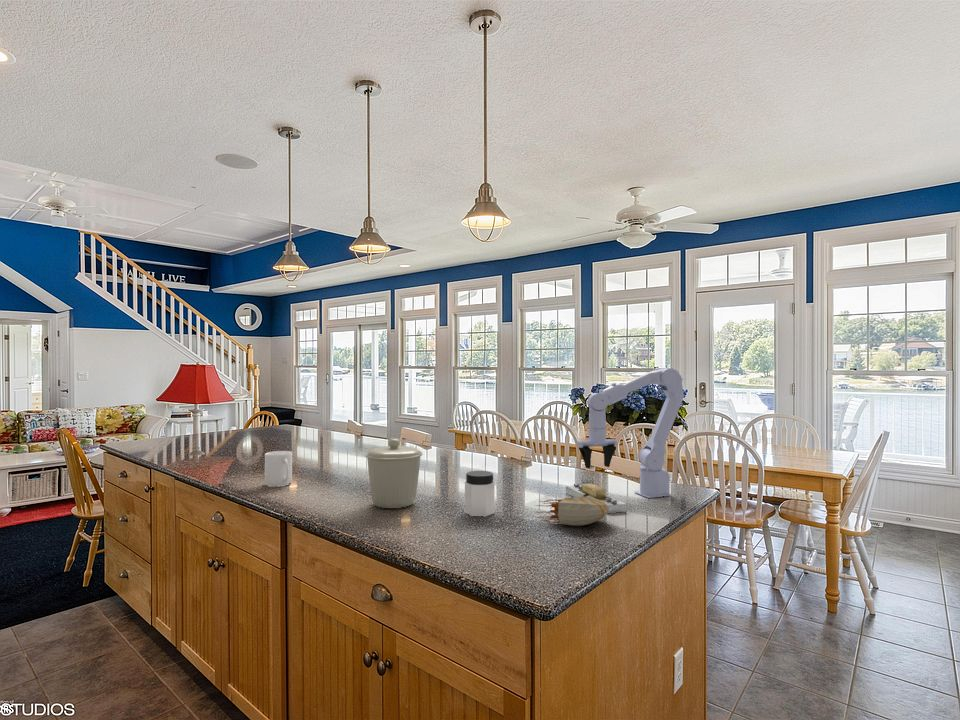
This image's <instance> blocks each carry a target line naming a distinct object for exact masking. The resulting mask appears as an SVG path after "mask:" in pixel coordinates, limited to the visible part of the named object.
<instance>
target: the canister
mask: <svg viewBox="0 0 960 720" xmlns="http://www.w3.org/2000/svg"><path fill="white" fill-rule="evenodd" d="M400 442H401V441H400V440H399V439H398V438H391V439H389V441H388V446H387V445H386V446H379V447H375V448H372V449H371V450H369V451H367V452H366V453H365V454H364V456H365V457H366V458H367V459H366V461H367V469H368V477H369V479H368V481H369V486H370V487H369V488H370V494H371V499H372V503H373V504H374V505H375V507H377V506H378V508H380V507H382V508H381V509H384V508H398V509H402V508H401V507H404V508H407V507H406V506H408V507H409V505H410V506H411V505H412V504H414V502H415V501H416V498H417V497H416V496H417V491H418V484H419V483H418V482H419V476H420V475H419V474H420V467H421V466H420V465H421V458H422V457H421V456H423V454H424V453H423V452H422V451H420V449H418V448H416V447H414V446H413V447H412V446H407V445H400Z"/></svg>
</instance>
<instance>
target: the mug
mask: <svg viewBox="0 0 960 720" xmlns="http://www.w3.org/2000/svg"><path fill="white" fill-rule="evenodd" d="M292 481H293V451H289V450H274V451H269V452H266V453H264V485H265V486H266V485H270V486H277V485H285V484H289V483H291V482H292ZM292 483H293V482H292ZM292 483H291V484H292Z"/></svg>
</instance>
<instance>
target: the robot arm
mask: <svg viewBox="0 0 960 720" xmlns="http://www.w3.org/2000/svg"><path fill="white" fill-rule="evenodd" d="M683 380H684V379H683V377H682V375H681V374H680V372H679V371H678V370H677V369H676V368H671V367H670V368H665V367H660V368H657V369H656V370H655V369H654V370H651V371H649V372H647V373H644V374H642V375H639V376H638V377H636V378H635V379H632V380H630V381H628V382H626V383H623V384H622V383H621V382H617V383H616V382H613V383H611V384H610V386H609V387H608V386H607V387H606V388H604V389H602V388H601V389H598V392H594V393H591V394H590V395H589V397H588V398H587V402H586V403H587V406H588V407H589V409H588V410H589V412H588V413H589V414H588V439H586V440H579V441H577V448H578V450H579V452H580V453H581V456H582V459H583V462H584V467H585V469H591V464H592V461H591V458H592V452H593V449H592V448H593V447H602V450H603V465H604V467H607V468H610V466H611V462H612V459H613V457H614V454H615V452H616V451H617V446H618V440H617V439H613V438H612V439H611V438H610V439H609V438H608V439H607V425H606V424H607V419H606V418H607V417H606V415H607V414H606V409H607V407H608V406H611V405H613V404H615V403H618V402H619V401H622V400H624V399H627V396H628V393H631V392H634V391H636V390H638V389H640V388H643V387H646V386H648V385H658V387H660V388H661V390H662V392H663V393H664V395H665V400H664V403H663V405H662V407H661V410H660V412H659V416H658V418H657V420H656V422H655V424H654V425H655V426H654V427H653V429H652V433H651V435H650V436H649V439H648V440H647V441H646V443H645V444H644V446H643V448H641V449H640V450H639V452H638V455H637V456H638V457H637V458H638V461H639V462H640V463H641V464H640V466H639V490H635V491H634V494H637V495H639V496H642V497H645V498H647V499H651V498H652V499H653V498H661V497H662V498H663V496H664V497H671V496H672V494H670V493H671V492H670V488H671V487H670V485H671V484H670V483H671V482H670V481H671V480H670V474H669V472H668V470H667V469H666V468H663V466H664V465H665V464H664V463H665V453H666V448H665V447H666V444H667V440H668V437H669V435H670V432H671V430H672V428H673V425H674V423H675V420H676V418H677V415H678V413H679V410H680V407H681V405H682V403H683V400H684V397H685V396H684V389H683Z"/></svg>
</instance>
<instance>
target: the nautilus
mask: <svg viewBox="0 0 960 720" xmlns="http://www.w3.org/2000/svg"><path fill="white" fill-rule="evenodd" d="M539 502H540V503H542V505H536V507H549V509H550V510H549V511H545V513H546V514H549V515H550V516H549V515H548V516H545V517H544V519H542V520H541V519H540V520H539V522H542V521H545V522H549V523H548V525H550V524H551V523H552V521H553V524H559V525H566V526H567V525H568V526H569V527H570V526H571V527H583V526H588V525H591V524H593V523H595V522H598V521H601V520H602V519H603V518H605V517H606V515H608V514H607V512H608V511H609V508H608V506H607V505H606V503H605V502H603V501H601V500H598V499H595V498H592V497H585V496H581V497H572V496H569V497H565V498H559V499H552V498H551V499H549V498H547V499H546V500H544V501H541V500H539ZM552 508H554V509H552ZM536 513H537V514H538V513H539V514H540V513H541V514H542V513H544V511H536ZM532 518H534V516H532ZM538 518H542V516H538Z"/></svg>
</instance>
